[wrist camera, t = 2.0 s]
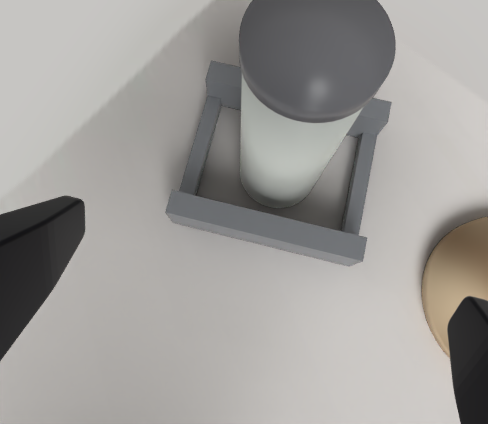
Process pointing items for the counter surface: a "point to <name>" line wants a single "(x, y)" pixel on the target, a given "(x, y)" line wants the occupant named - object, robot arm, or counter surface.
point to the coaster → (455, 275)
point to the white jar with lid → (305, 88)
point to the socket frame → (264, 224)
